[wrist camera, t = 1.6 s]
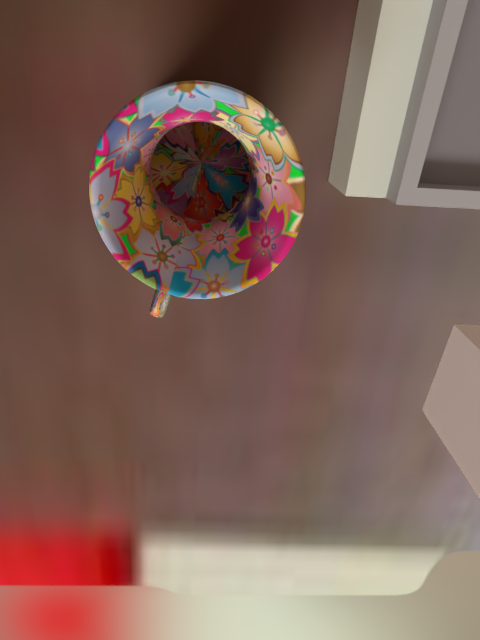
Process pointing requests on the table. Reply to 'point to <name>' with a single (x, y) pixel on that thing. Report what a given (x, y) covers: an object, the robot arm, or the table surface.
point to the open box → (412, 105)
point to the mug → (197, 190)
